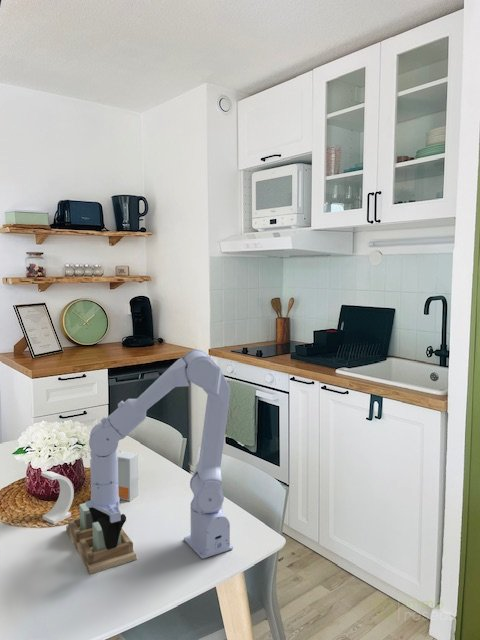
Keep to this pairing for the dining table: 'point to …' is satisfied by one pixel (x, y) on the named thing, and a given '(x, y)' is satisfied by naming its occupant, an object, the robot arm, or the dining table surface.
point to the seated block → (85, 517)
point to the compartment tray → (102, 557)
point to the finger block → (100, 537)
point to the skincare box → (127, 475)
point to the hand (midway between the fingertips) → (105, 539)
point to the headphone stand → (60, 498)
